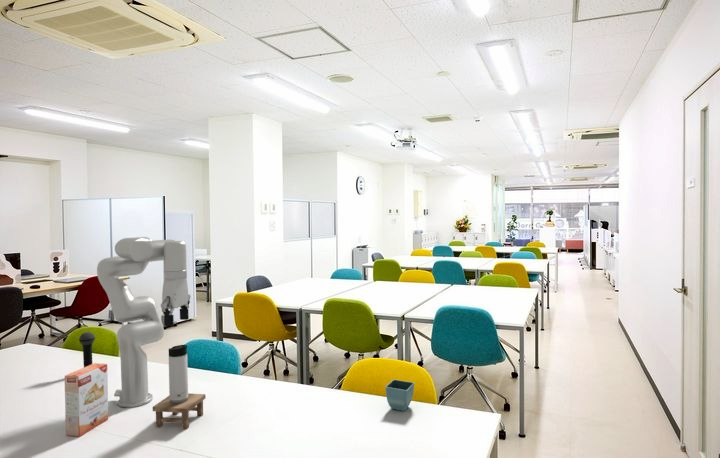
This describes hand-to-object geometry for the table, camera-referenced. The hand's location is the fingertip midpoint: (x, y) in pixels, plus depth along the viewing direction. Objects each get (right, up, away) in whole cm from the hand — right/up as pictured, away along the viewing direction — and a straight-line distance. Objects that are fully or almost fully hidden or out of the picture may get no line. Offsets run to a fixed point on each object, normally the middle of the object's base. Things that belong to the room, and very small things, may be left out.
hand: (176, 322), depth 166 cm
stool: (+1, -36, +1) cm, 36 cm away
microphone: (-63, -35, +53) cm, 90 cm away
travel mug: (+1, -29, +1) cm, 29 cm away
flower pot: (+81, -34, +9) cm, 89 cm away
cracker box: (-30, -37, -3) cm, 48 cm away
